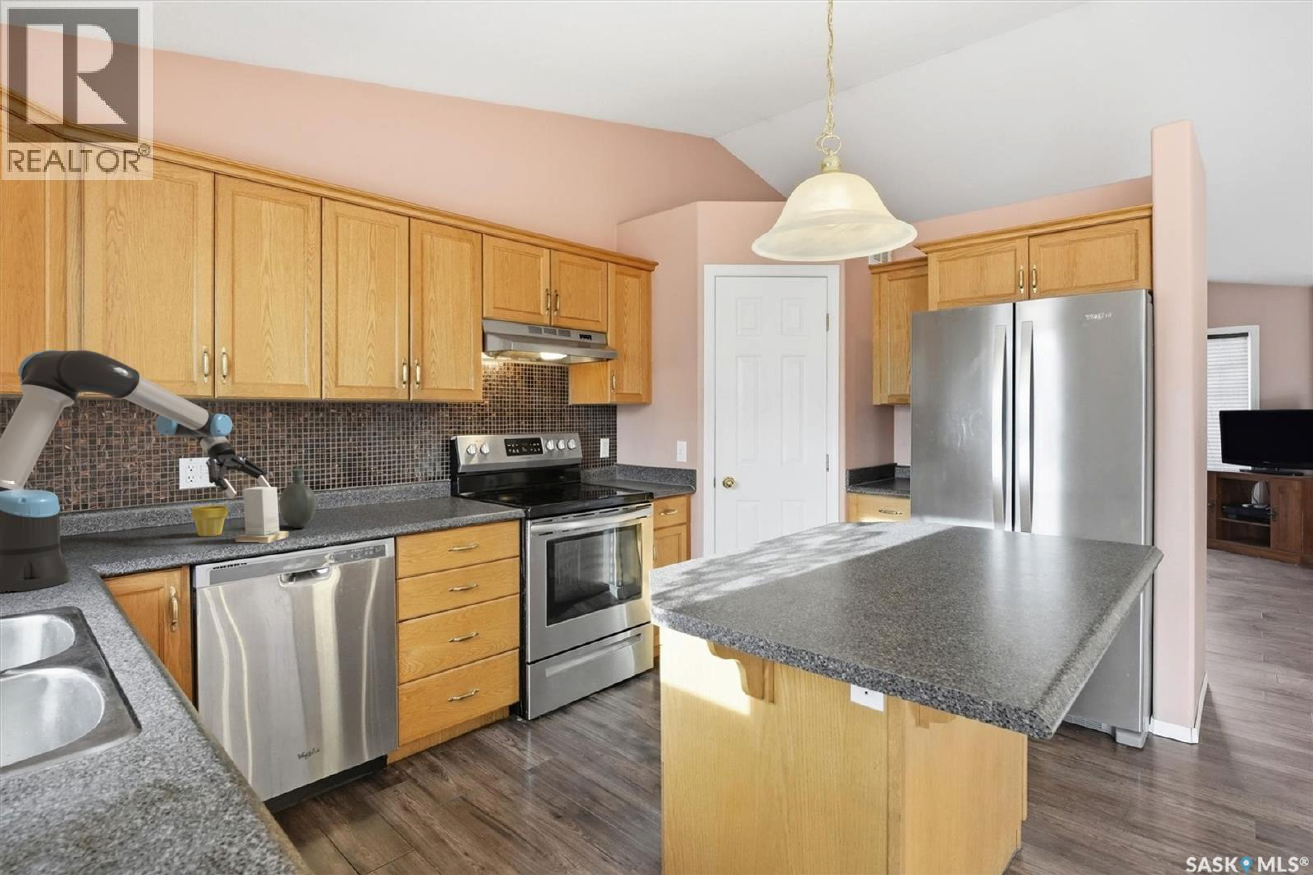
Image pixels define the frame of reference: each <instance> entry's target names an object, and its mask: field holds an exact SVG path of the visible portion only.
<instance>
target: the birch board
mask: <svg viewBox="0 0 1313 875" xmlns="http://www.w3.org/2000/svg"><path fill="white" fill-rule="evenodd" d="M289 533H290V532H289V531H288V530H279V532H277V533H273V534H268V535H251V534H246V533H245V534H240V535H237V536H235V543H236V542H259V543H258V544H269V543H273V542H276V540H277V541H279V540H283V539H287V538H289V537H288V536H290V535H289ZM286 537H287V538H286Z"/></svg>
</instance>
